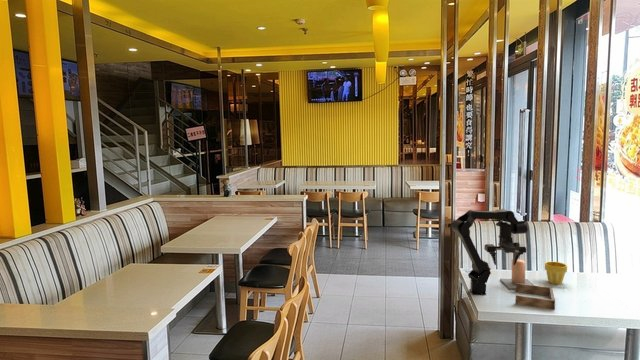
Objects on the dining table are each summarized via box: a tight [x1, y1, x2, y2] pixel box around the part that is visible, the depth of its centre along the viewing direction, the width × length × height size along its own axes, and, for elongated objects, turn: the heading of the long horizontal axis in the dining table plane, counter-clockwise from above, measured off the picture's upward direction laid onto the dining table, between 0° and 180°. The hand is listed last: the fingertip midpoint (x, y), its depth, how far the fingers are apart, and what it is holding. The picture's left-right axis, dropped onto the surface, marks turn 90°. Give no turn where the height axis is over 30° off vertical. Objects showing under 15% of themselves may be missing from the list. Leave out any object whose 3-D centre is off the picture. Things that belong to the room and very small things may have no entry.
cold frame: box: [514, 283, 556, 310], centre depth 204 cm, size 16×19×4 cm
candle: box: [511, 258, 526, 285], centre depth 223 cm, size 6×6×12 cm
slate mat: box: [499, 278, 535, 291], centre depth 224 cm, size 14×14×1 cm
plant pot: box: [544, 261, 568, 285], centre depth 227 cm, size 10×10×10 cm
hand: (504, 265), depth 216 cm, fingers open, 9 cm apart
